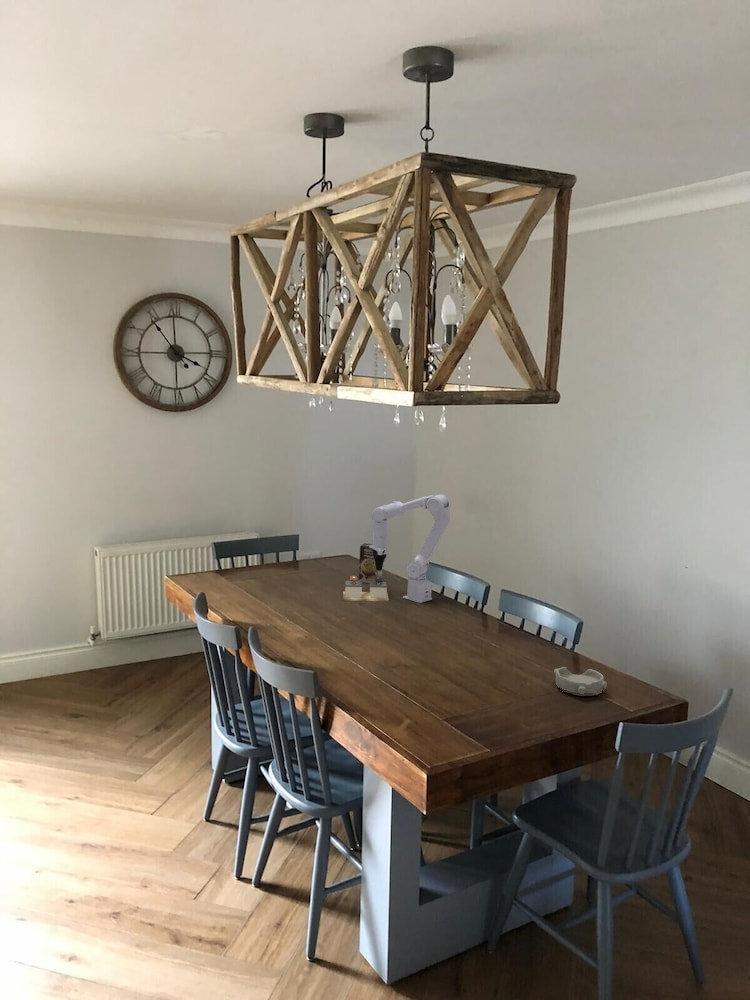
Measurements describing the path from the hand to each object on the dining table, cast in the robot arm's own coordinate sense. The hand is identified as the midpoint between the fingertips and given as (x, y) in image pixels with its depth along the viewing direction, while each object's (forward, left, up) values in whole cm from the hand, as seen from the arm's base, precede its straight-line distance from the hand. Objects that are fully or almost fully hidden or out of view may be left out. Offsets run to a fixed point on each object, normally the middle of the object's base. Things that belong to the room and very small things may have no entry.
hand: (378, 568), depth 334 cm
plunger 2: (-5, +5, -8) cm, 11 cm away
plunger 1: (+1, +13, -8) cm, 15 cm away
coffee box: (+14, -10, -11) cm, 20 cm away
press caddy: (-2, +9, -10) cm, 14 cm away
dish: (-110, +27, -11) cm, 114 cm away
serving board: (-2, +9, -10) cm, 14 cm away
